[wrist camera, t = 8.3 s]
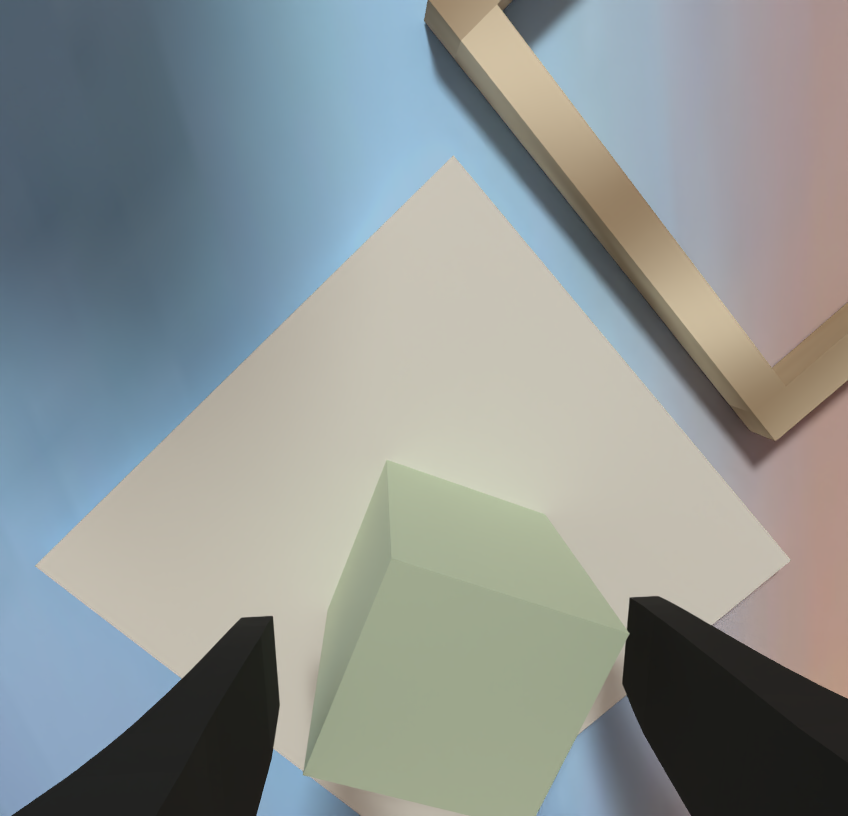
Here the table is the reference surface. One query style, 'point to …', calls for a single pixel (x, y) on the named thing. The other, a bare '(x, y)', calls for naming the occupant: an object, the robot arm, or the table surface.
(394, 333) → the beige mat
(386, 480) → the sage block
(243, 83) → the table surface
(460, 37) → the maple pocket frame
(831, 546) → the table surface
